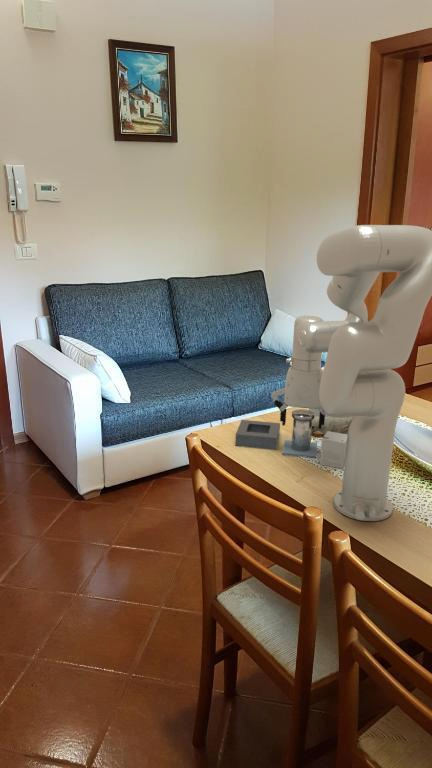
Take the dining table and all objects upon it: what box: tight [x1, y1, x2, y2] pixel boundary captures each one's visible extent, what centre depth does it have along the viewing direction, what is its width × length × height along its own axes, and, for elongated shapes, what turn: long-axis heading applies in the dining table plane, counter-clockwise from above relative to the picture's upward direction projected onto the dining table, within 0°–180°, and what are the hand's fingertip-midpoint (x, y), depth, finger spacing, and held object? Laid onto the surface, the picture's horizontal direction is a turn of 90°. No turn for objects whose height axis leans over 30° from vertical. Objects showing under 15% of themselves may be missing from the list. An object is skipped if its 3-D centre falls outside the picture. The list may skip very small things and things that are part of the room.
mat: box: [281, 439, 318, 459], centre depth 152 cm, size 9×9×1 cm
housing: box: [234, 419, 281, 451], centre depth 158 cm, size 11×11×4 cm
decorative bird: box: [311, 416, 354, 436], centre depth 161 cm, size 5×16×8 cm, turn 77°
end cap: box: [291, 408, 315, 452], centre depth 151 cm, size 6×6×10 cm
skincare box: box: [319, 431, 347, 470], centre depth 144 cm, size 6×6×7 cm
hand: (301, 425), depth 150 cm, fingers open, 9 cm apart
